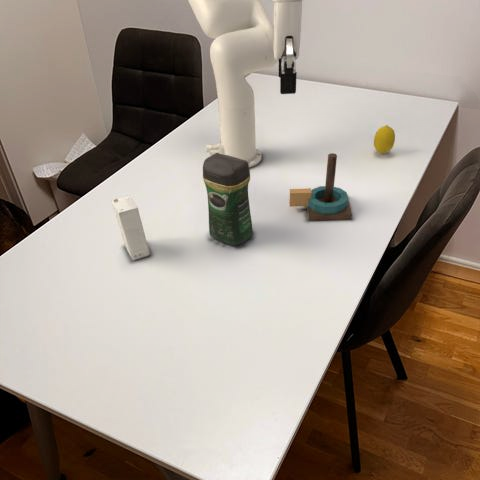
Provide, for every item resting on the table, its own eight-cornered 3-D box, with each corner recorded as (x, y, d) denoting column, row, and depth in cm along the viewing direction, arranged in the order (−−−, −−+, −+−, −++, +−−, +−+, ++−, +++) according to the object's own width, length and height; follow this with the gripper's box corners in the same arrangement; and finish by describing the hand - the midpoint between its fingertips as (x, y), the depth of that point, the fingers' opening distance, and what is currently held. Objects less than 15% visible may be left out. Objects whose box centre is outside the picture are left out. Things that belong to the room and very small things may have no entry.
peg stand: (308, 220, 110) (311, 167, 101) (305, 198, 117) (308, 146, 108) (351, 219, 110) (358, 165, 100) (345, 196, 117) (352, 144, 107)
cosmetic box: (151, 255, 104) (140, 207, 95) (131, 261, 103) (118, 213, 94) (142, 240, 108) (131, 193, 99) (123, 246, 107) (110, 199, 98)
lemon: (390, 149, 133) (395, 121, 127) (393, 158, 129) (398, 129, 124) (370, 149, 134) (375, 121, 128) (372, 158, 130) (377, 130, 124)
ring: (290, 215, 110) (290, 201, 107) (288, 194, 116) (288, 181, 113) (349, 213, 109) (351, 199, 106) (344, 192, 115) (345, 179, 113)
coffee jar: (258, 233, 108) (256, 156, 94) (237, 251, 103) (232, 173, 90) (225, 220, 112) (218, 145, 99) (204, 237, 108) (194, 160, 94)
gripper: (267, -20, 94) (268, 72, 106) (269, 0, 82) (270, 101, 94) (305, -22, 94) (301, 70, 106) (312, -3, 82) (307, 99, 94)
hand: (286, 84), depth 100 cm, fingers open, 9 cm apart
